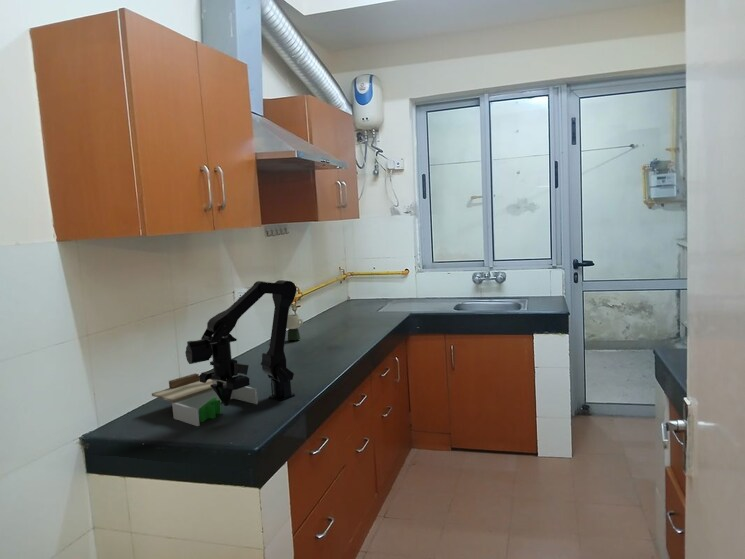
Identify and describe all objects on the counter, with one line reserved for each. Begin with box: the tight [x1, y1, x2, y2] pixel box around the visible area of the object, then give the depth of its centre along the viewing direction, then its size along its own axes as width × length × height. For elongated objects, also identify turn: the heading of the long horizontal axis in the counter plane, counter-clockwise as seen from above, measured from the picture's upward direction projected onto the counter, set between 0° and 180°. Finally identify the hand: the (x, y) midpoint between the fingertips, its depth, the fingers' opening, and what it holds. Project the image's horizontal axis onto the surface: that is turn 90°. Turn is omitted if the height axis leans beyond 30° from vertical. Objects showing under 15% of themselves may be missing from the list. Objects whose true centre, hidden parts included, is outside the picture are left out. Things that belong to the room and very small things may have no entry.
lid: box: [151, 373, 227, 403], centre depth 177 cm, size 13×23×3 cm, turn 141°
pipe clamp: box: [198, 398, 222, 423], centre depth 166 cm, size 10×4×4 cm, turn 173°
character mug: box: [286, 313, 304, 341], centre depth 268 cm, size 11×7×13 cm, turn 74°
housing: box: [171, 386, 259, 427], centre depth 170 cm, size 13×23×5 cm, turn 141°
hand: (226, 405), depth 168 cm, fingers closed
